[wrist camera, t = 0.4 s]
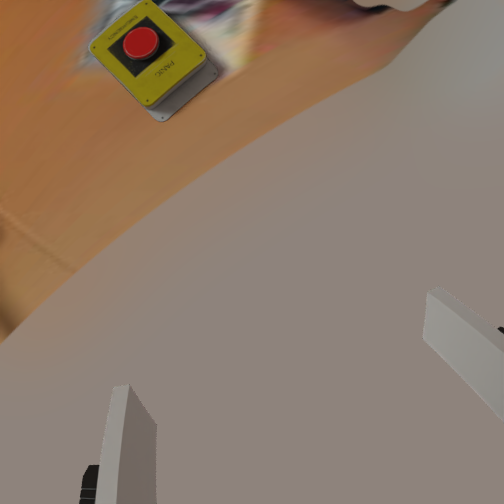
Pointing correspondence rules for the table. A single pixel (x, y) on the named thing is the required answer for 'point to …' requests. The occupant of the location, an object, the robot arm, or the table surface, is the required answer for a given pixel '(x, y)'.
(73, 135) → the table surface
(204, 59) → the emergency button
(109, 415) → the robot arm
